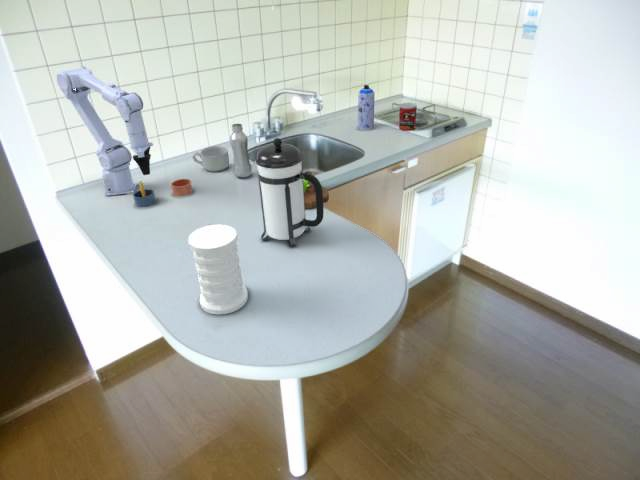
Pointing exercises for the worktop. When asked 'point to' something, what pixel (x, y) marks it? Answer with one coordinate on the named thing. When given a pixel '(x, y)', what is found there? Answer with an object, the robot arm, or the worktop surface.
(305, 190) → the plant
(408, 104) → the canned food
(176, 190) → the right pot
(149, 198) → the left pot
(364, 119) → the aerosol can
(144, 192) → the pencil
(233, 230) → the decorative container
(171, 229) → the worktop surface
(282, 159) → the coffee press
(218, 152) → the teacup
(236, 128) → the plastic bottle
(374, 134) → the worktop surface
